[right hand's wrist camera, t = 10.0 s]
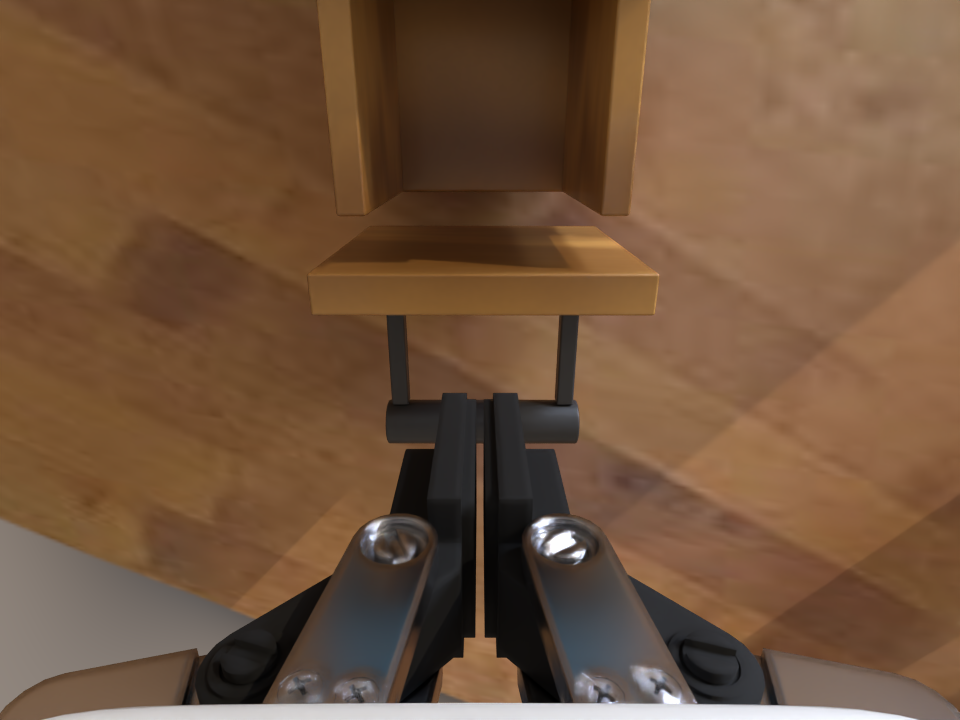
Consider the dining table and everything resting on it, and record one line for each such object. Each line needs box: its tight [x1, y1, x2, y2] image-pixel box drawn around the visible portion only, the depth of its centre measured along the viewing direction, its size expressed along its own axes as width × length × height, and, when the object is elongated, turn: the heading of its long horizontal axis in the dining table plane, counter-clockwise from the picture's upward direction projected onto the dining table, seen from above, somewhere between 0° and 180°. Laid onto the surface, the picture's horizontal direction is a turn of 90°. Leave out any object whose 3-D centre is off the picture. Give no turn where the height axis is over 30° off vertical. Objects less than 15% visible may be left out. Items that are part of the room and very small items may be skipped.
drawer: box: [307, 0, 659, 443], centre depth 18 cm, size 23×10×9 cm, turn 0°
